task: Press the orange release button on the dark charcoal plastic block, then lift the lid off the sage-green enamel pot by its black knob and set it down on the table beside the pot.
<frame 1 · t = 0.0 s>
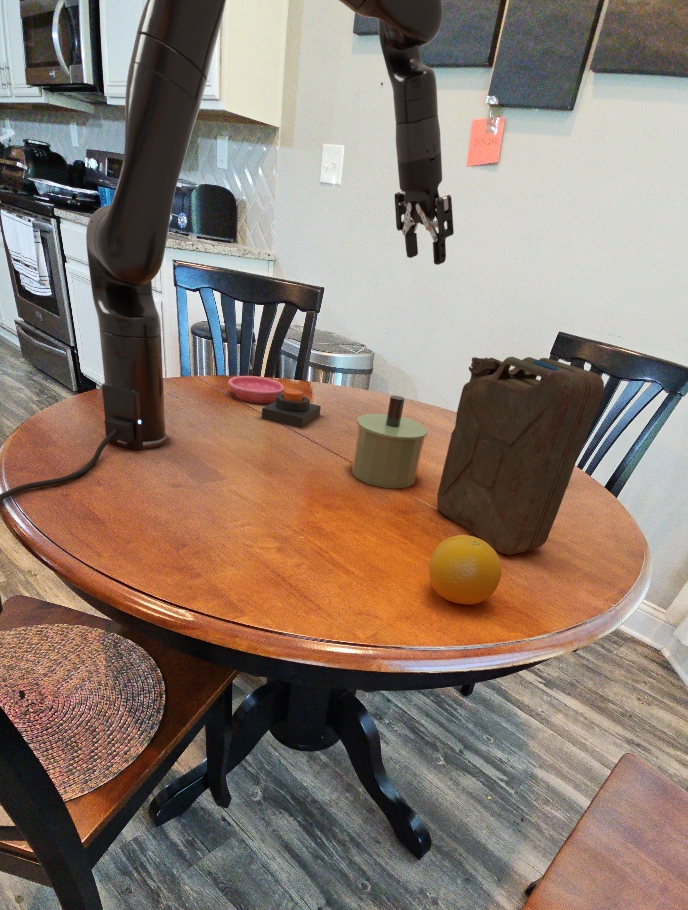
hand: (425, 259, 112), 31 cm above the table, tool tilted 20°, fingers open, 8 cm apart
lid: (392, 427, 100), point 8 cm above the table, touching pot
button block: (291, 417, 125), on the table
button: (293, 395, 123), point 4 cm above the table, slide at 0.1 cm
saucer: (255, 398, 134), on the table
canister: (484, 530, 92), on the table
fruit: (456, 598, 74), on the table
pot: (383, 475, 105), on the table
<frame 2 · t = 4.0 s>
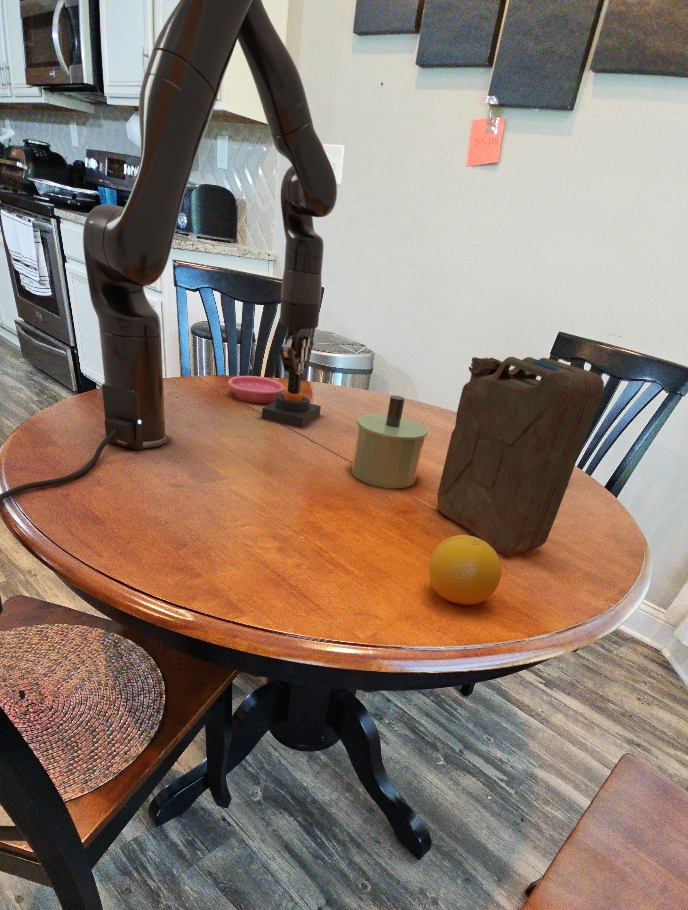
hand: (293, 392, 123), 5 cm above the table, tool pointing down, fingers closed
button: (293, 396, 123), point 4 cm above the table, slide at -0.1 cm, touching gripper
everything else where it was.
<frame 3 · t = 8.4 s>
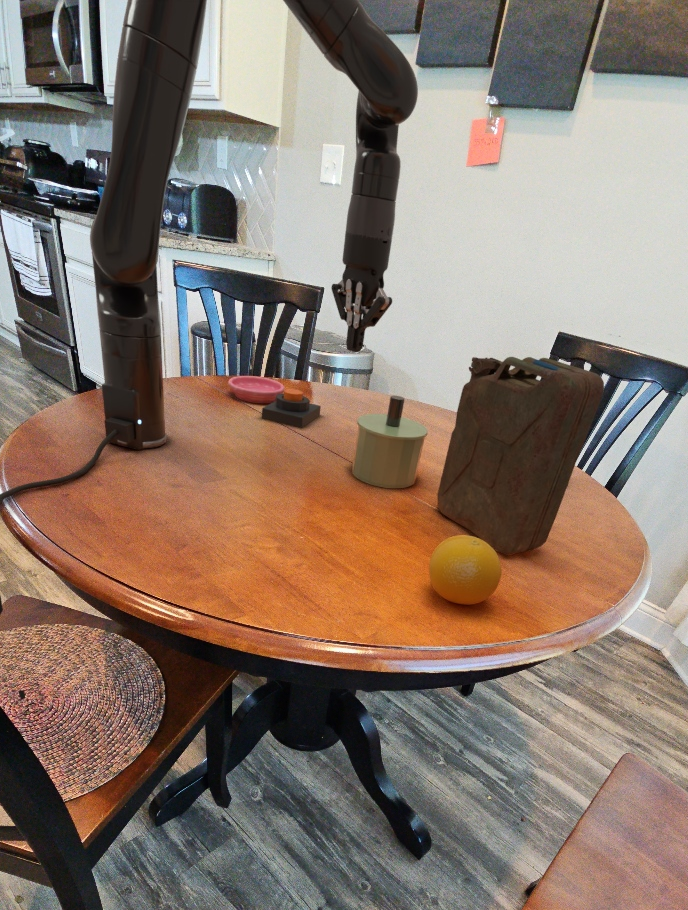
hand: (353, 350, 104), 17 cm above the table, tool pointing down, fingers closed
button: (293, 395, 123), point 4 cm above the table, slide at 0.1 cm
everything else where it was.
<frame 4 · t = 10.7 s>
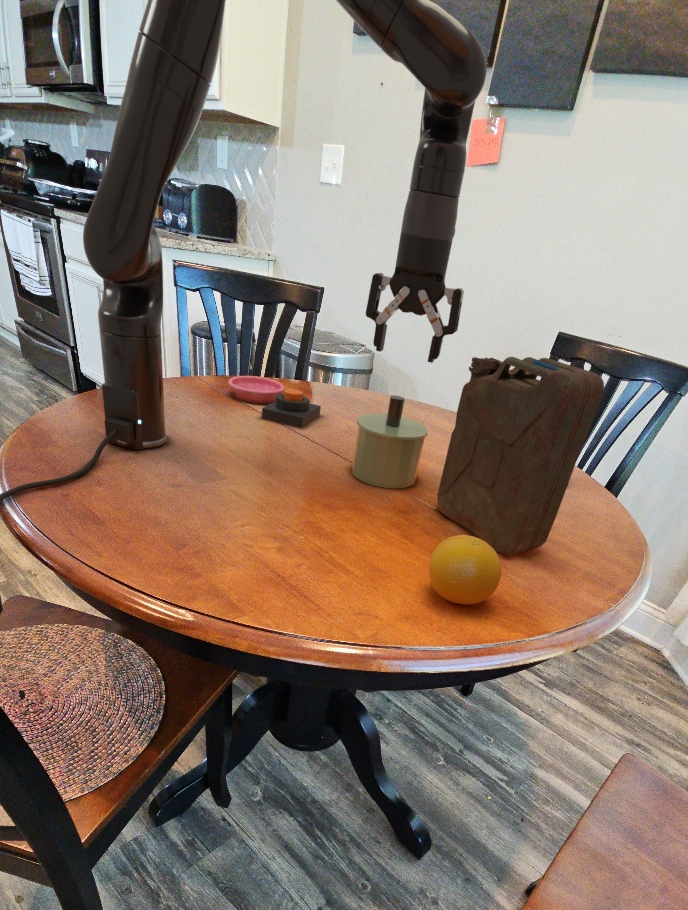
hand: (405, 356, 93), 20 cm above the table, tool pointing down, fingers open, 8 cm apart
nothing on the table moved.
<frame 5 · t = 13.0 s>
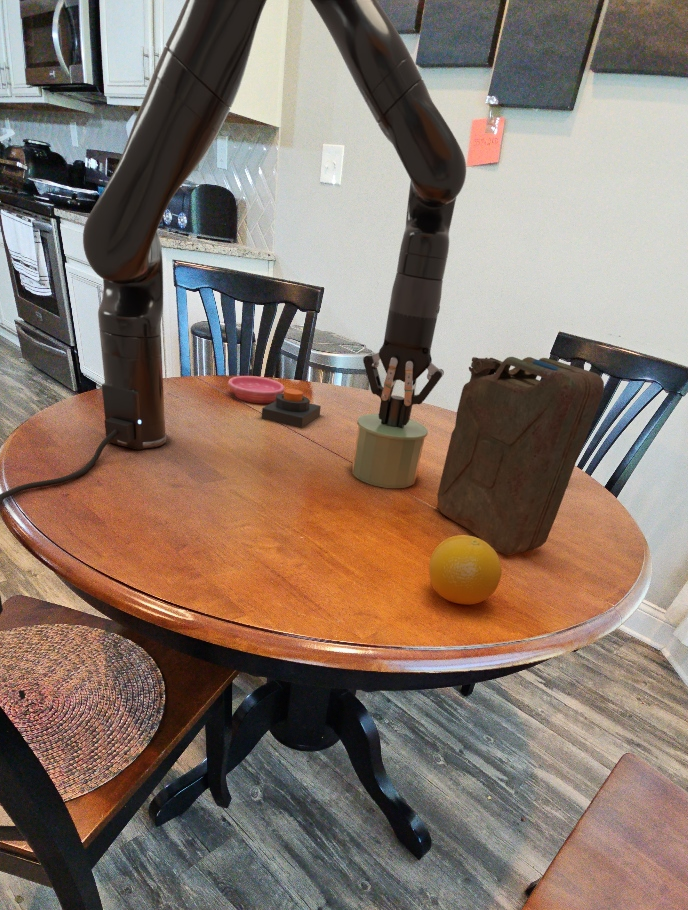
hand: (393, 424, 100), 9 cm above the table, tool pointing down, fingers closed on lid, 2 cm apart
lid: (392, 427, 100), point 9 cm above the table, touching gripper, pot
everything else where it was.
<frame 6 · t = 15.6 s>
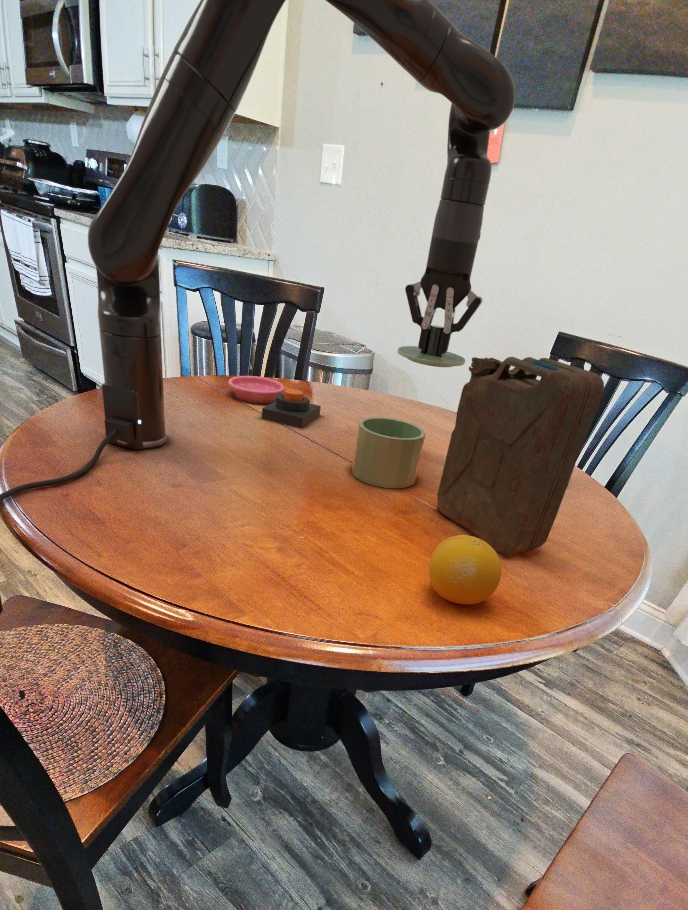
hand: (431, 353, 104), 19 cm above the table, tool pointing down, fingers closed on lid, 2 cm apart
lid: (431, 357, 105), point 18 cm above the table, touching gripper
everything else where it was.
when the fingers open (1 cm above the table, at t = 18.3 s): lid stays where it is, point 1 cm above the table.
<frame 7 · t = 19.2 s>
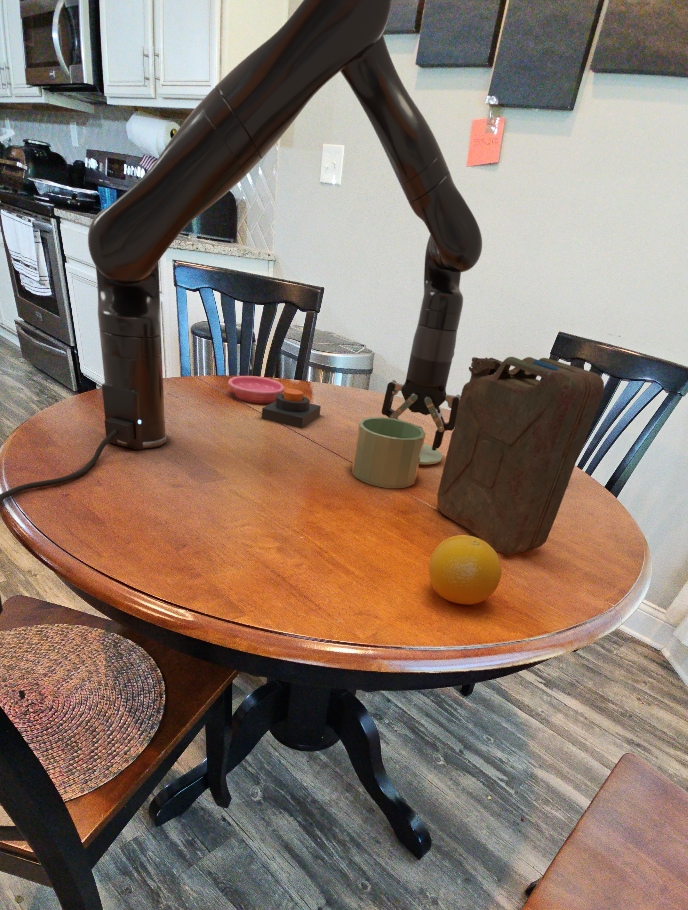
hand: (413, 444, 115), 2 cm above the table, tool pointing down, fingers open, 8 cm apart
lid: (411, 452, 116), point 1 cm above the table
everything else where it was.
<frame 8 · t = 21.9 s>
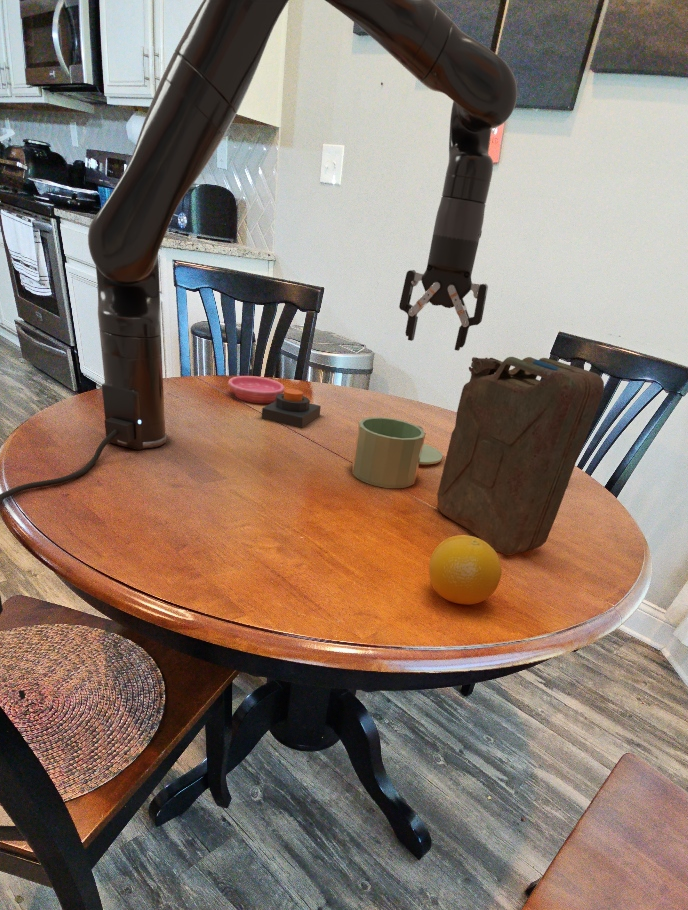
hand: (433, 344, 104), 20 cm above the table, tool pointing down, fingers open, 8 cm apart
nothing on the table moved.
at the end: button pushed in 1.3 cm at the most during the clip, back to where it started at the end; lid inside the target area (0.0 cm from its centre), point 0.6 cm above the table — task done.
